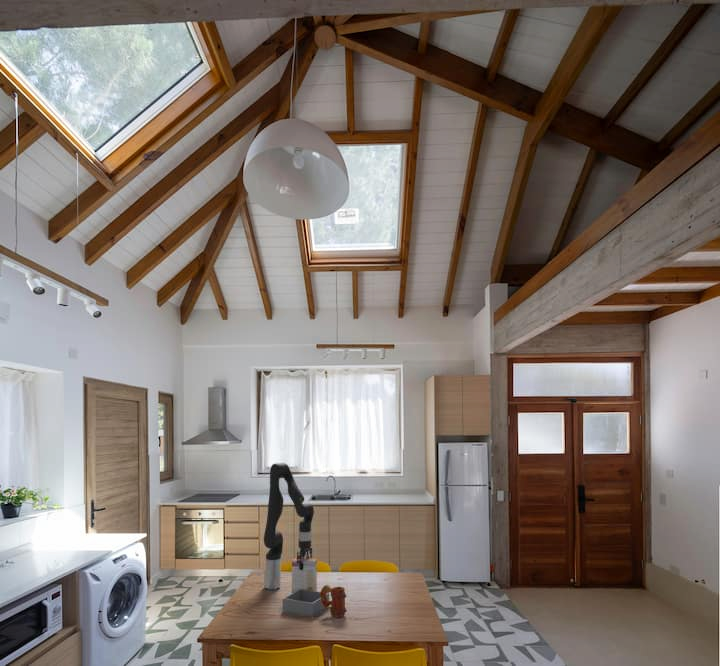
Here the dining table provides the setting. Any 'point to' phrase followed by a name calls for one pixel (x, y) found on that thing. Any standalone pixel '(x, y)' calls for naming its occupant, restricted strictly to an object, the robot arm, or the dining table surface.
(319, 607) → the bin
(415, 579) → the dining table surface
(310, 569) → the cracker box
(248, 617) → the dining table surface
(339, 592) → the mug
